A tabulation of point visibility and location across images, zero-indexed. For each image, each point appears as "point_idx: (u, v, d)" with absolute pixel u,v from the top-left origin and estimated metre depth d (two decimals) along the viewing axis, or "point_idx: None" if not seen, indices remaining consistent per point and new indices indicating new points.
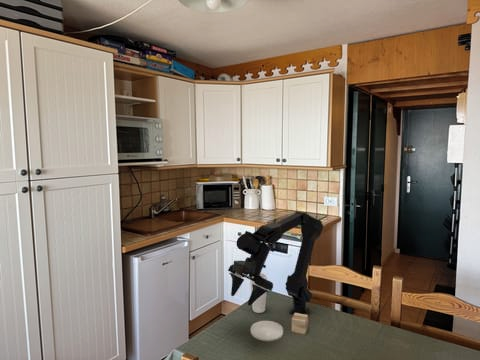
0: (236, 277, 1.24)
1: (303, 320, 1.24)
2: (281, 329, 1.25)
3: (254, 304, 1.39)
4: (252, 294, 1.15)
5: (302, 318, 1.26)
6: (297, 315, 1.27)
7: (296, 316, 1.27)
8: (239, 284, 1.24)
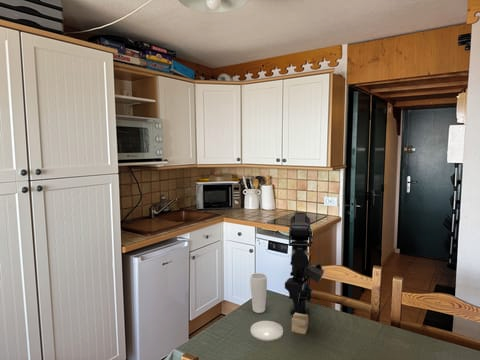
0: None
1: (303, 320, 1.24)
2: (281, 329, 1.25)
3: (254, 304, 1.39)
4: (306, 284, 1.29)
5: (302, 318, 1.26)
6: (297, 315, 1.27)
7: (296, 316, 1.27)
8: None
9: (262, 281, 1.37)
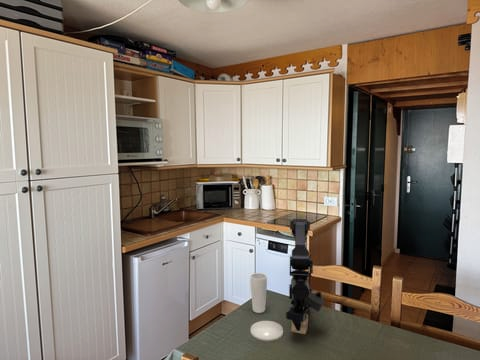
0: None
1: None
2: (281, 329, 1.25)
3: (254, 304, 1.39)
4: None
5: None
6: None
7: None
8: None
9: (262, 281, 1.37)
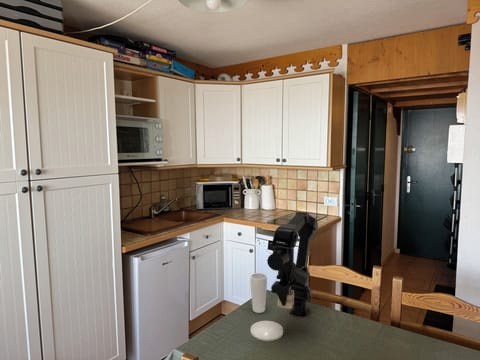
0: None
1: (289, 294, 1.22)
2: (281, 329, 1.25)
3: (254, 304, 1.39)
4: None
5: None
6: None
7: None
8: None
9: (262, 281, 1.37)
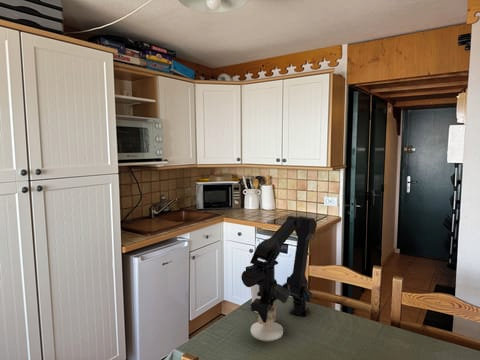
0: None
1: (270, 311, 1.22)
2: (281, 329, 1.25)
3: None
4: (272, 305, 1.27)
5: None
6: None
7: None
8: None
9: None
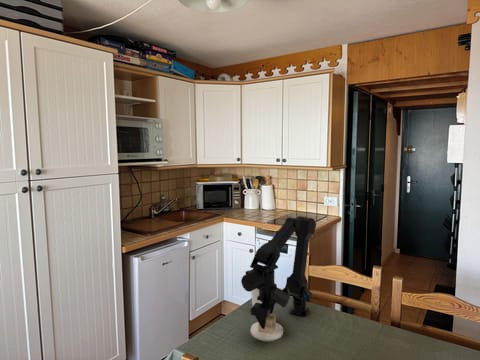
0: None
1: (269, 319, 1.23)
2: (281, 329, 1.25)
3: None
4: (273, 307, 1.29)
5: (269, 317, 1.24)
6: None
7: None
8: None
9: None
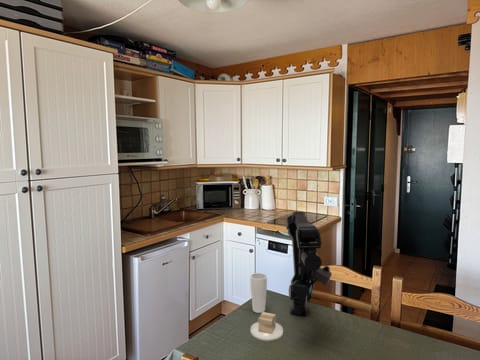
0: None
1: (270, 319, 1.23)
2: (281, 329, 1.25)
3: (254, 304, 1.39)
4: (313, 286, 1.28)
5: (269, 317, 1.24)
6: (264, 315, 1.26)
7: (263, 315, 1.26)
8: None
9: (262, 281, 1.37)
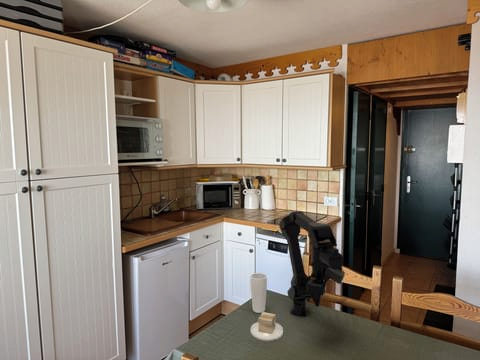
0: None
1: (270, 319, 1.23)
2: (281, 329, 1.25)
3: (254, 304, 1.39)
4: None
5: (269, 317, 1.24)
6: (264, 315, 1.26)
7: (263, 315, 1.26)
8: None
9: (262, 281, 1.37)
